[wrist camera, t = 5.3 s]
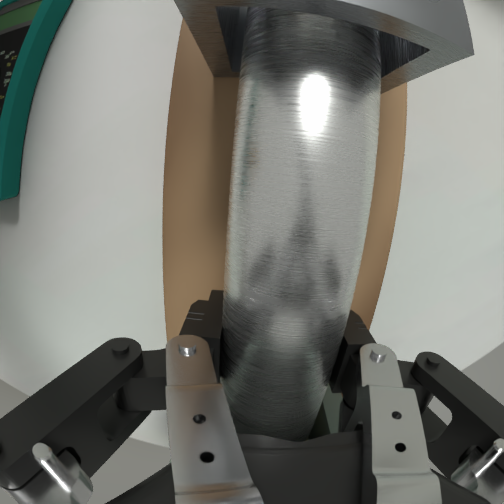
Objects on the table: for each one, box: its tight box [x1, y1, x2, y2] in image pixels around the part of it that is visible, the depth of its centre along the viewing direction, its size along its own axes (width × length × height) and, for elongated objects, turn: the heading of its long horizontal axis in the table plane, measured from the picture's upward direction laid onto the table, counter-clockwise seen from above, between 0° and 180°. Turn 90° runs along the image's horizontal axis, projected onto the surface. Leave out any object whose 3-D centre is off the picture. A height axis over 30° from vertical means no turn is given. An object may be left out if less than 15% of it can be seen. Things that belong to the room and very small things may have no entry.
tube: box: [220, 7, 381, 442], centre depth 8 cm, size 4×19×4 cm, turn 175°
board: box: [163, 18, 407, 398], centre depth 12 cm, size 10×26×2 cm, turn 175°
